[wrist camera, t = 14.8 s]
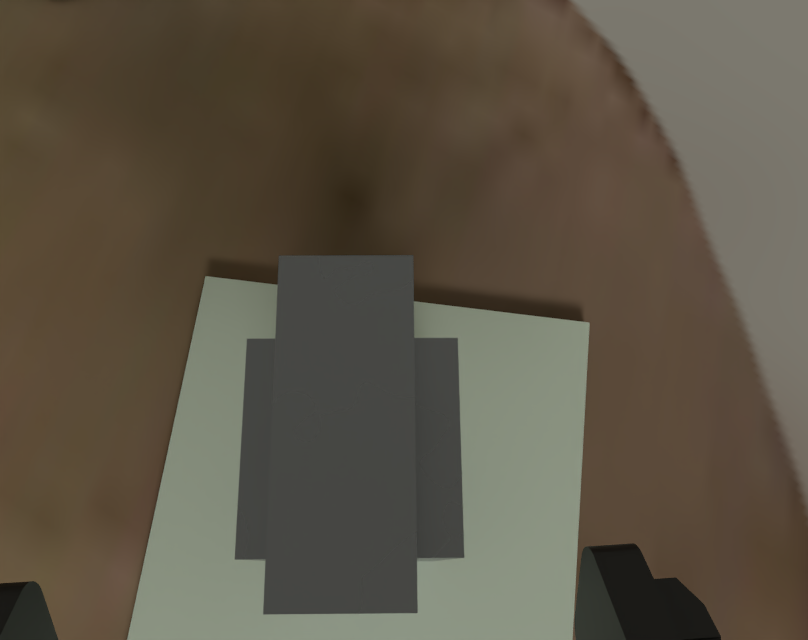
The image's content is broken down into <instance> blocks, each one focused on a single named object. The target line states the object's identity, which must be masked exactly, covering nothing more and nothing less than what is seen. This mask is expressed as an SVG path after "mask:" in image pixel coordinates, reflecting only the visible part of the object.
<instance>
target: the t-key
mask: <svg viewBox="0 0 808 640" xmlns="http://www.w3.org/2000/svg"><path fill="white" fill-rule="evenodd" d="M458 558H464V529H463V495H462V461H461V428H460V394H459V361H458V338H414V272H413V255H328V256H279V265H278V287H277V310H276V333H275V338H267V339H247V345H246V363H245V381H244V399H243V417H242V435H241V453H240V471H239V489H238V507H237V525H236V543H235V560H259V561H265V582H264V604H263V615H269V614H382V613H418V599H417V561H440V560H449V559H458Z"/></svg>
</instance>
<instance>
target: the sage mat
mask: <svg viewBox="0 0 808 640" xmlns="http://www.w3.org/2000/svg"><path fill="white" fill-rule="evenodd" d="M277 287H278V285H275V284H267V283H258V282H250V281H242V280H234V279H225V278H217V277H209V276H205V281H204V286H203V290H202V295H201V300H200V304H199V309H198V314H197V318H196V323H195V327H194V332H193V337H192V341H191V346H190V351H189V355H188V360H187V365H186V369H185V374H184V378H183V383H182V388H181V392H180V397H179V402H178V406H177V411H176V416H175V420H174V425H173V430H172V434H171V439H170V443H169V448H168V453H167V457H166V462H165V467H164V471H163V476H162V481H161V485H160V490H159V494H158V499H157V504H156V508H155V513H154V518H153V522H152V527H151V532H150V536H149V541H148V545H147V550H146V555H145V559H144V564H143V569H142V573H141V578H140V583H139V587H138V592H137V596H136V601H135V606H134V610H133V615H132V620H131V624H130V629H129V634H128V638H127V640H572V638H573V620H574V601H575V583H576V564H577V545H578V527H579V508H580V490H581V471H582V453H583V434H584V416H585V397H586V379H587V360H588V342H589V322H580V321H572V320H564V319H556V318H547V317H539V316H531V315H523V314H514V313H506V312H498V311H490V310H481V309H473V308H465V307H457V306H448V305H440V304H432V303H424V302H415V301H414V338H458V361H459V394H460V428H461V461H462V495H463V529H464V558H458V559H449V560H440V561H417V599H418V613H382V614H269V615H263V604H264V582H265V561H259V560H235V543H236V525H237V507H238V489H239V471H240V453H241V435H242V417H243V399H244V381H245V363H246V345H247V339H267V338H275V333H276V310H277Z"/></svg>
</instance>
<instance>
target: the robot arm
mask: <svg viewBox="0 0 808 640" xmlns="http://www.w3.org/2000/svg"><path fill="white" fill-rule="evenodd" d="M575 635H576V640H721V636H720V634H719V632H718V630H717V628H716V626H715V625H714V623H713V621H712V619H711V617H710V615H709V613H708V611H707V609H706V607H705V605H704V604H703V603H702V602H701V601H700V600H699V599H698V598H697V597H696V596H695V595H694V594H693V593H691V592H690V591H689V590H688V589H687V588H686V587H685V586H684V585H683V584H682V583H681V582H680V581H679V580H678V579H677V578H663V579H654V578H653V576H652V574H651V572H650V570H649V568H648V565H647V563H646V561H645V559H644V557H643V555H642V553H641V551H640V549H639V548H638V546H637V545H636V544H619V545H604V546H589V547H585V548H584V549H583V552H582V558H581V567H580V576H579V585H578V594H577V603H576V611H575ZM0 640H58V638H57V635H56V632H55V629H54V626H53V623H52V620H51V617H50V614H49V611H48V608H47V605H46V602H45V599H44V596H43V593H42V590H41V588H40V586H39V584H37V583H36V582H34V581H32V582H16V583H1V584H0Z"/></svg>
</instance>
